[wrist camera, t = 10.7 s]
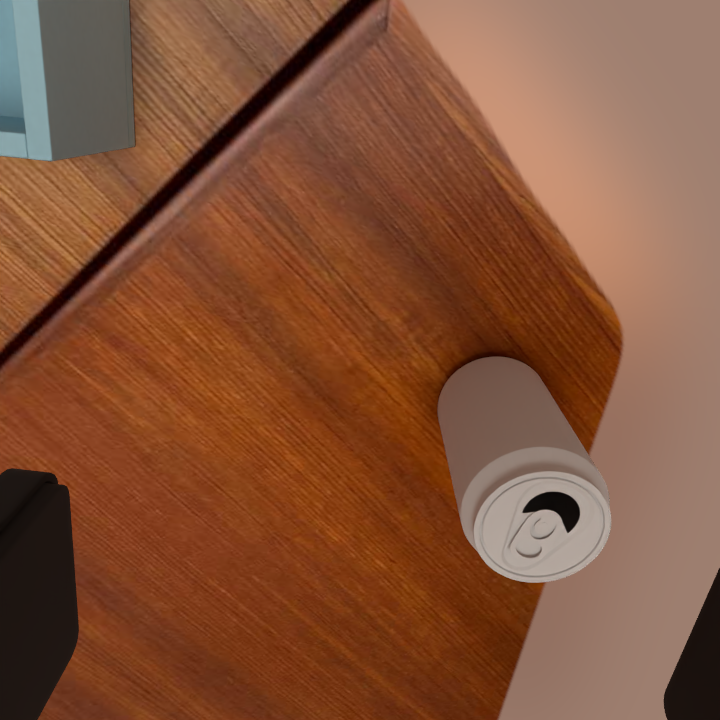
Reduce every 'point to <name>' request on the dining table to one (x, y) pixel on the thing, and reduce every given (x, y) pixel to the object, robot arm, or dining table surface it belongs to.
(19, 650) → the robot arm
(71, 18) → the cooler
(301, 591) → the dining table surface
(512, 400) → the beverage can
